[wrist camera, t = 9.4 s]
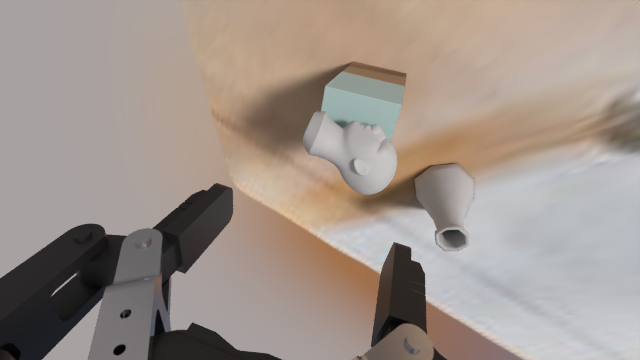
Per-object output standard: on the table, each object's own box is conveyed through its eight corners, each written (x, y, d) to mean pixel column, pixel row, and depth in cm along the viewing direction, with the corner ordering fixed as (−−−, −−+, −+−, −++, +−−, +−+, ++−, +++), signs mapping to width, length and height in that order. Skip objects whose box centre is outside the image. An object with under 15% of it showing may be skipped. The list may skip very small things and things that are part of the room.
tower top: (341, 71, 27) (325, 85, 22) (404, 86, 26) (402, 104, 21) (330, 129, 30) (313, 153, 25) (385, 144, 29) (379, 172, 24)
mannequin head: (408, 149, 24) (367, 192, 25) (334, 87, 23) (296, 137, 24) (421, 161, 20) (372, 213, 21) (332, 87, 18) (287, 146, 20)
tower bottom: (353, 61, 31) (342, 71, 27) (406, 73, 31) (404, 86, 26) (342, 112, 35) (330, 129, 30) (390, 124, 34) (385, 144, 29)
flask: (404, 175, 37) (401, 223, 29) (462, 153, 33) (477, 200, 25) (427, 216, 39) (430, 271, 31) (483, 199, 35) (504, 257, 27)
